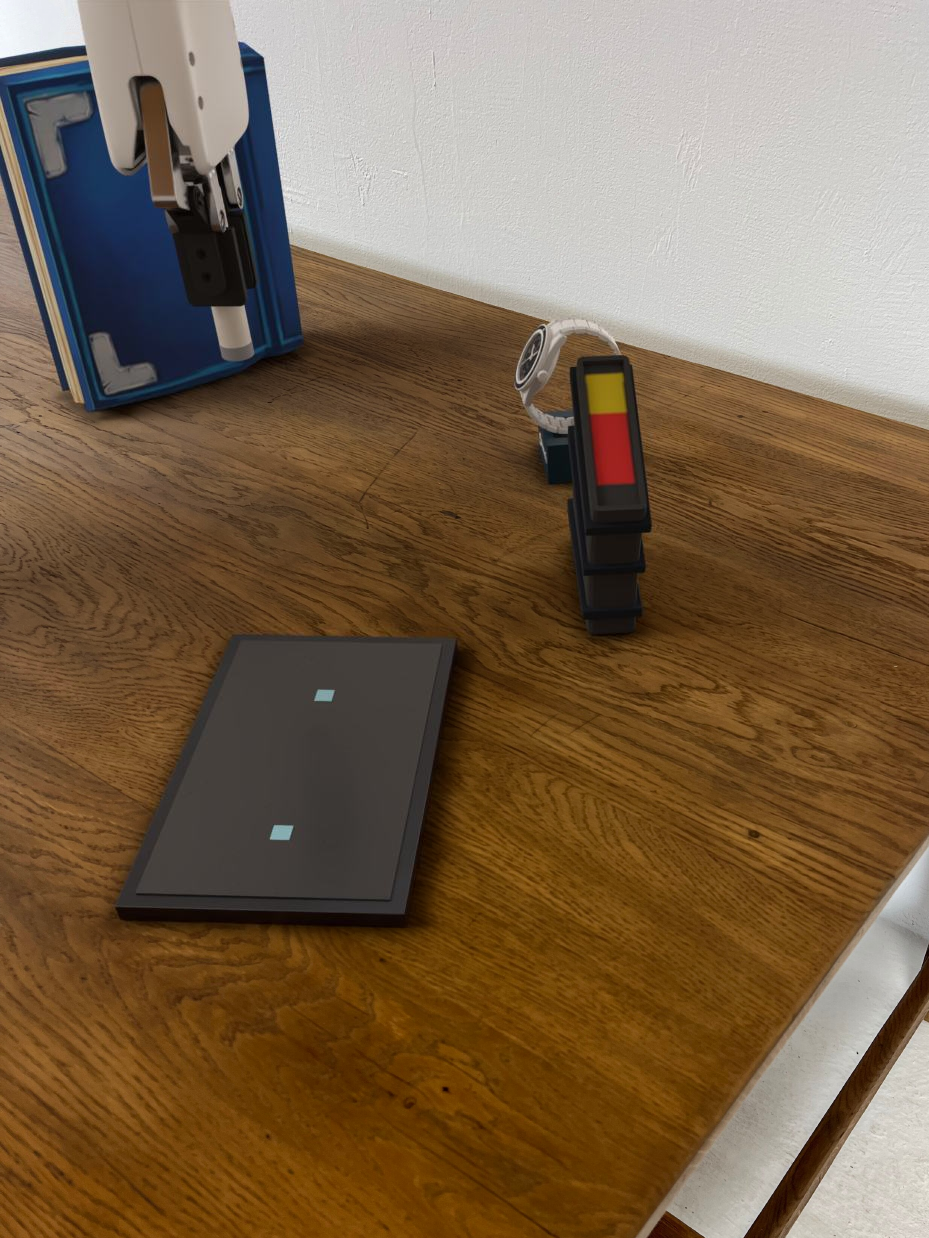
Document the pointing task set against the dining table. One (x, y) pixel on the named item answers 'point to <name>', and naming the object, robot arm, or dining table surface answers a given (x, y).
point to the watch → (534, 376)
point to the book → (129, 240)
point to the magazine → (607, 493)
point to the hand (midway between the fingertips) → (224, 293)
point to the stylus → (232, 327)
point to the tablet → (300, 785)
